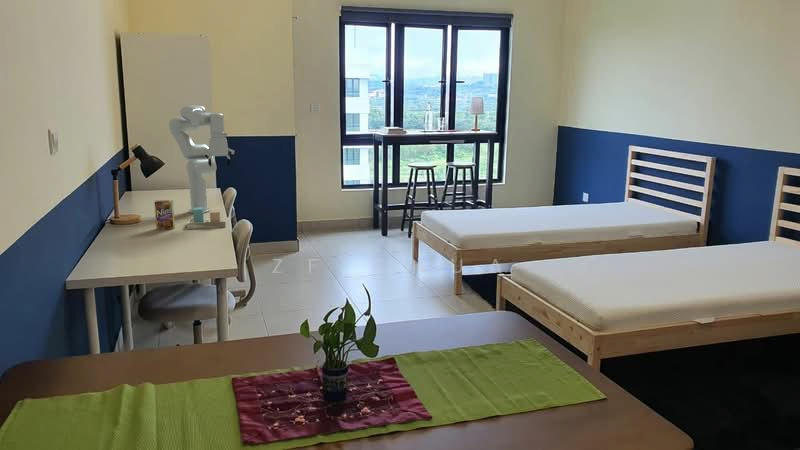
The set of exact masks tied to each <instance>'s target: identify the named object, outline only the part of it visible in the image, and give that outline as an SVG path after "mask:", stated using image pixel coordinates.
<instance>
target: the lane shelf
mask: <svg viewBox="0 0 800 450" xmlns="http://www.w3.org/2000/svg"><path fill="white" fill-rule="evenodd" d="M191 221H192V220H191V219H187V222H186V229H187V230H191V229H193V230H194V229H212V228H213V229H214V228H215V229H217V228H226V225H227V223H226V221H227V220H226V217H223V218H222V221H221V220H220V222H210V221H209V218H205V219H204V222H199V223H194V222H191Z"/></svg>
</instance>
